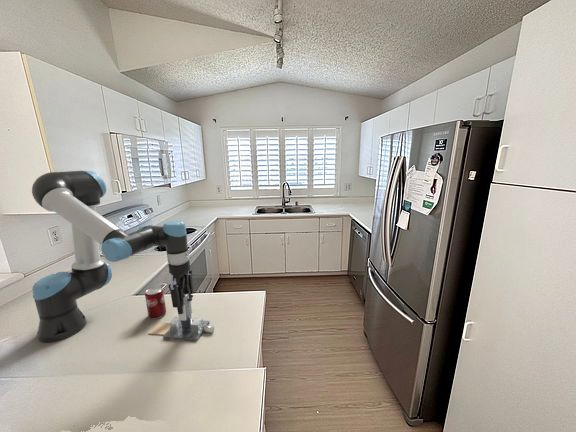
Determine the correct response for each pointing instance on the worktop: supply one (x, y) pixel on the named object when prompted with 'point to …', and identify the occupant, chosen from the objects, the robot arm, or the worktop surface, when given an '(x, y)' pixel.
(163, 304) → the soda can
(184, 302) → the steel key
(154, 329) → the cork mat
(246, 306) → the worktop surface
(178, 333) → the block
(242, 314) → the worktop surface
